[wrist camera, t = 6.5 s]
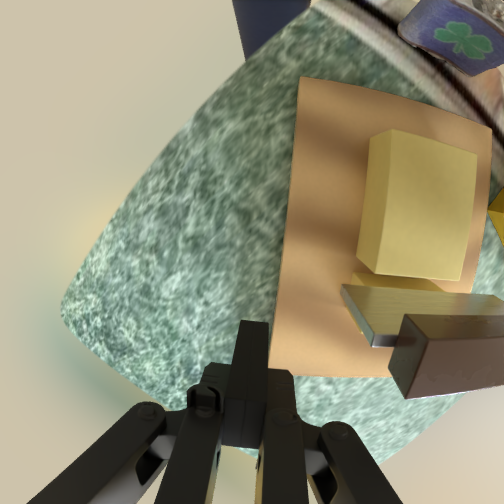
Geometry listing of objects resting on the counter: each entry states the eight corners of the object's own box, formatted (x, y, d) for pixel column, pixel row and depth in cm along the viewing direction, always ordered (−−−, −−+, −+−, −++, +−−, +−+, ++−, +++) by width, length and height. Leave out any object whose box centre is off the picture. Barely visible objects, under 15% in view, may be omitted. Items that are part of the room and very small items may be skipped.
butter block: (369, 137, 20) (392, 128, 16) (445, 156, 20) (477, 153, 15) (355, 256, 22) (374, 273, 18) (431, 264, 22) (459, 281, 17)
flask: (394, 38, 19) (451, -21, 9) (397, 16, 18) (448, -45, 8) (475, 83, 19) (548, 55, 9) (476, 60, 18) (543, 28, 8)
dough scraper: (344, 266, 16) (402, 339, 8) (496, 281, 16) (575, 328, 8) (336, 309, 17) (379, 402, 9) (487, 315, 16) (557, 370, 8)
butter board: (298, 82, 21) (300, 75, 19) (482, 130, 20) (492, 129, 19) (266, 363, 26) (266, 373, 25) (436, 366, 26) (442, 374, 24)
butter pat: (352, 271, 22) (370, 292, 18) (428, 278, 22) (455, 297, 18) (345, 307, 23) (360, 334, 19) (419, 311, 23) (443, 335, 18)
